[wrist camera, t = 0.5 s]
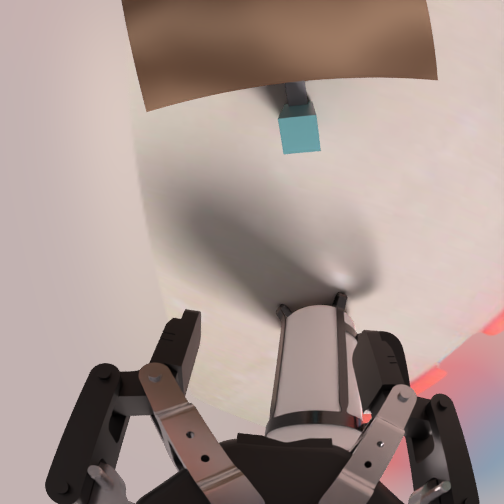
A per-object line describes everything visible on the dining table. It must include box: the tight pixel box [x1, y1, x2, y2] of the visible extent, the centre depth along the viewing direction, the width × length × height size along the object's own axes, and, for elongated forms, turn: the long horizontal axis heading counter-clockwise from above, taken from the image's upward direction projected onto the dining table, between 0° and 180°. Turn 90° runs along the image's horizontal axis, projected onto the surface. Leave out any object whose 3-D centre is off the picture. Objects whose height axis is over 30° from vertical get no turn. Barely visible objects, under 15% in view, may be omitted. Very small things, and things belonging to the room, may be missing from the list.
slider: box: [278, 81, 321, 154], centre depth 22 cm, size 20×12×10 cm, turn 10°
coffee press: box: [265, 292, 410, 451], centre depth 35 cm, size 17×16×30 cm
